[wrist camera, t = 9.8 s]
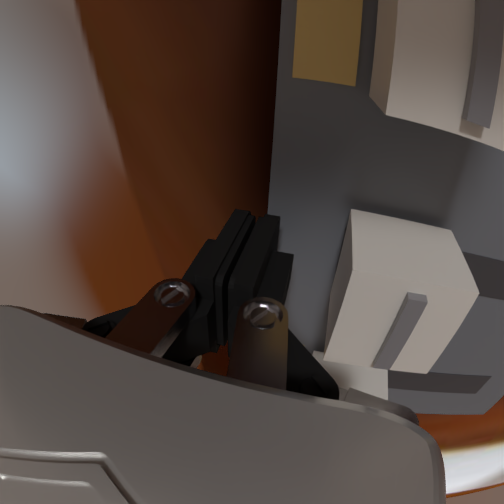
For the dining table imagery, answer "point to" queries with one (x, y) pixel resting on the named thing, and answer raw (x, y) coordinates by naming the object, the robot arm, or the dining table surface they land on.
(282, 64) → the switch unit
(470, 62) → the switch
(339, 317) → the switch
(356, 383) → the switch
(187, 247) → the dining table surface
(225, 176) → the dining table surface
